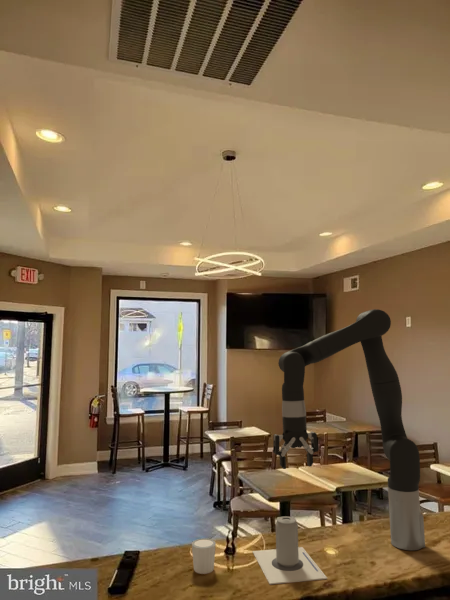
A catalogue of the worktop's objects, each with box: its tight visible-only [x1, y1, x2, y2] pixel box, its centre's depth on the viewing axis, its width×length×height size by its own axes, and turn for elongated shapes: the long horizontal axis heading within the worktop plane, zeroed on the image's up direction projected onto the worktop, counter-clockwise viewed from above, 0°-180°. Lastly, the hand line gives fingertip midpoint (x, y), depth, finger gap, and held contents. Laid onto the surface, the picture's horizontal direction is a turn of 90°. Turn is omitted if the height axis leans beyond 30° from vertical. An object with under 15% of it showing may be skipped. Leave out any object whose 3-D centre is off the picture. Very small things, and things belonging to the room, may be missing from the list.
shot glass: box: [191, 538, 217, 575], centre depth 127 cm, size 7×7×7 cm
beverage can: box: [275, 515, 299, 567], centre depth 129 cm, size 6×6×12 cm
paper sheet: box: [252, 546, 328, 585], centre depth 129 cm, size 16×20×1 cm
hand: (296, 467), depth 141 cm, fingers open, 8 cm apart
